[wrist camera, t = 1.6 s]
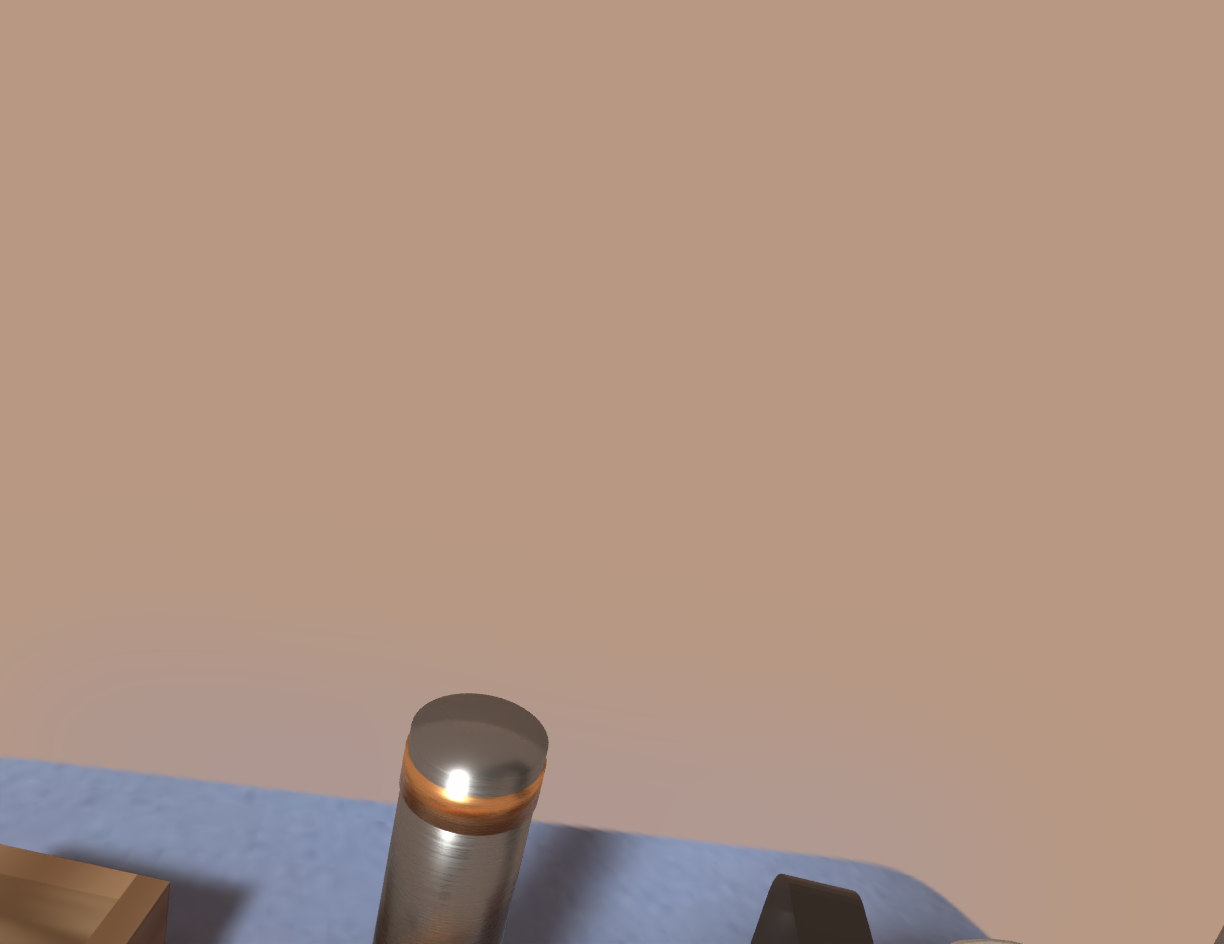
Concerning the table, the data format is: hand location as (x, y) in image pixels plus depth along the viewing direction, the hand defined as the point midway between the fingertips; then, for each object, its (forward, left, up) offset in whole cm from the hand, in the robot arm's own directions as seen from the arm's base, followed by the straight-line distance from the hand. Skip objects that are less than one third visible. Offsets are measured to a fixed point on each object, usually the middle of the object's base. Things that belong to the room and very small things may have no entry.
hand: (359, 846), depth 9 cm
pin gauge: (0, -11, -20) cm, 23 cm away
